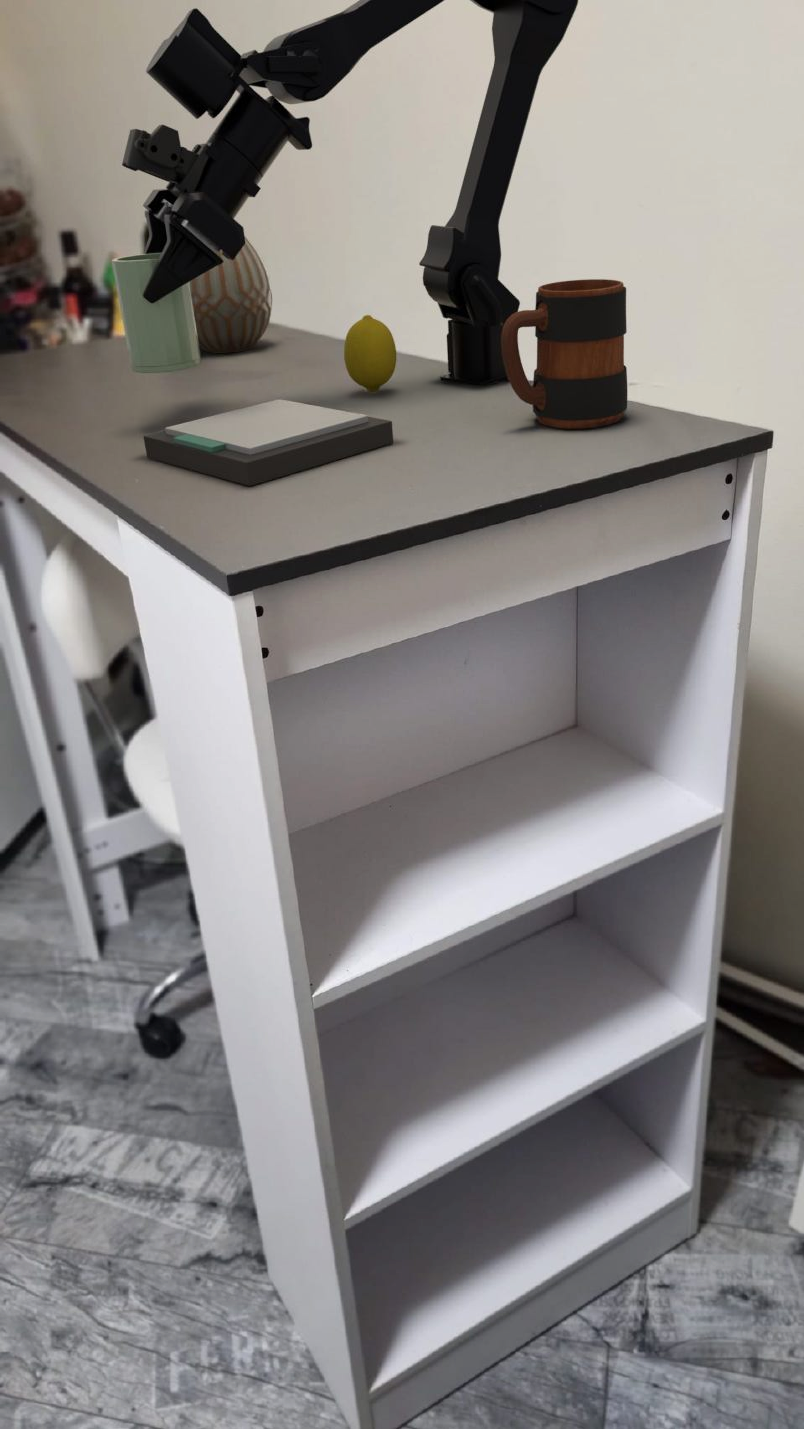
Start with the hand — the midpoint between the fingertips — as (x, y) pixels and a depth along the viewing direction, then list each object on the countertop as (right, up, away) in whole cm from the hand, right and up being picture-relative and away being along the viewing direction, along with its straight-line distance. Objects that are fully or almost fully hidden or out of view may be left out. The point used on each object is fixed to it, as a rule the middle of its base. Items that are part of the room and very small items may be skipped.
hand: (140, 296), depth 104 cm
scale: (+13, -16, -5) cm, 21 cm away
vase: (+1, +10, +45) cm, 46 cm away
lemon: (+22, -5, +14) cm, 26 cm away
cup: (+2, -6, +4) cm, 7 cm away
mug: (+40, -13, -3) cm, 42 cm away
